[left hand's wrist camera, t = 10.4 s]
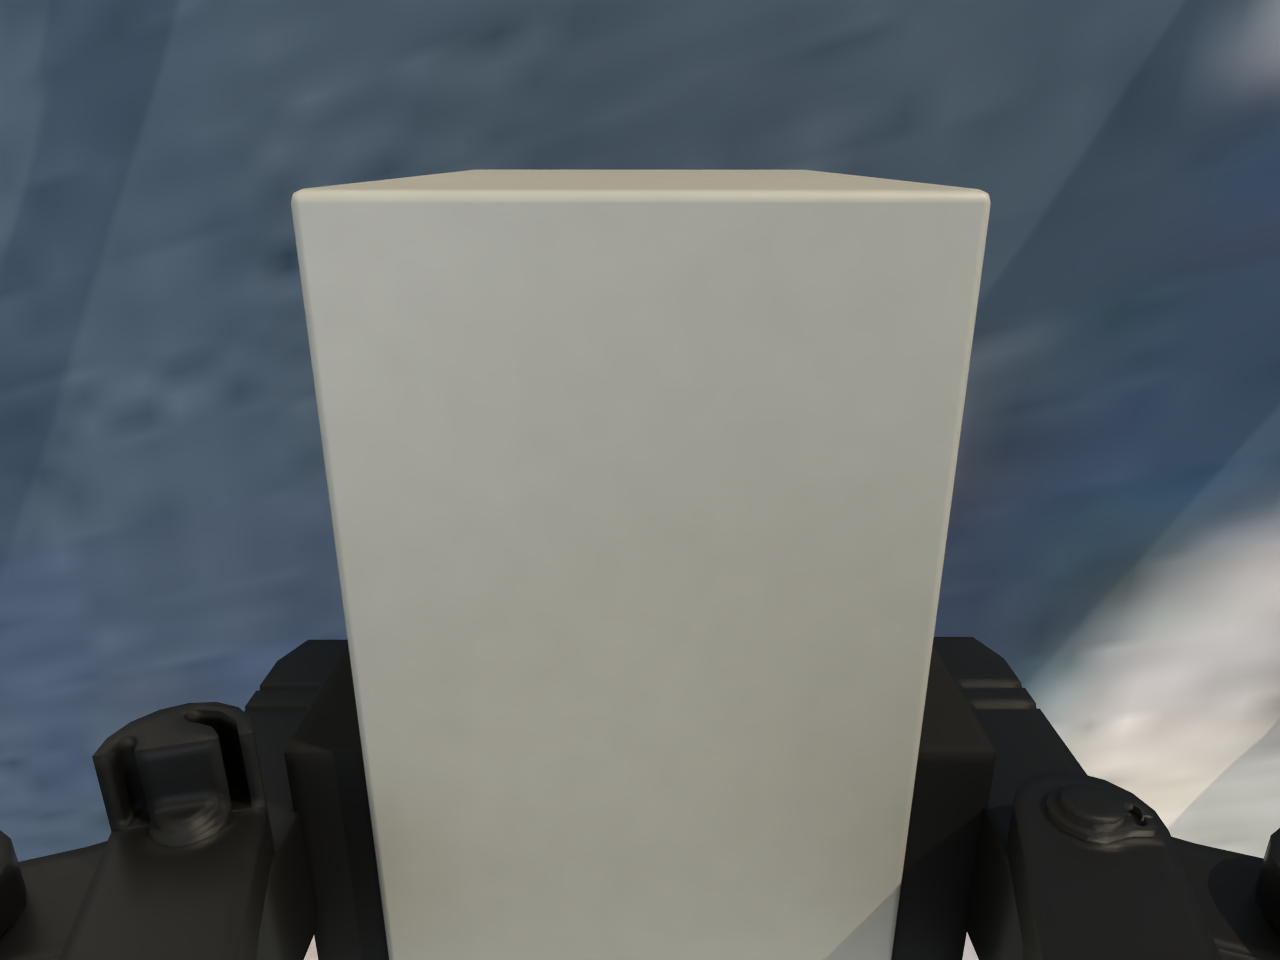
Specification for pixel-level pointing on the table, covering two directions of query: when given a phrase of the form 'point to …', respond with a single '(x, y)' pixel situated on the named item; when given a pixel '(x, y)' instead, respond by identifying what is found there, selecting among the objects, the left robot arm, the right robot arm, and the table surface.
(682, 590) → the post
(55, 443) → the table surface
